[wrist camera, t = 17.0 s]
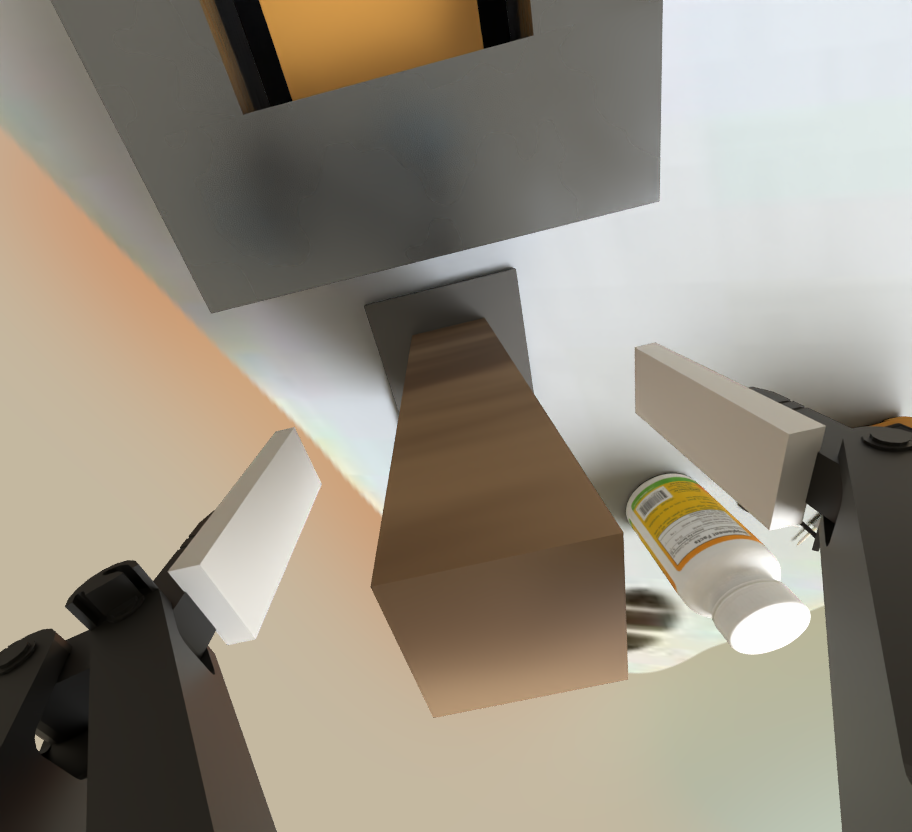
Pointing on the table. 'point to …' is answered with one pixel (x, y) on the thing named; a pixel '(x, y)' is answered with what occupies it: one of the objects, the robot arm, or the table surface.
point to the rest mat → (449, 320)
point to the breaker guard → (374, 139)
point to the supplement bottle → (716, 564)
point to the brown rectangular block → (493, 537)
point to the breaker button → (365, 38)
